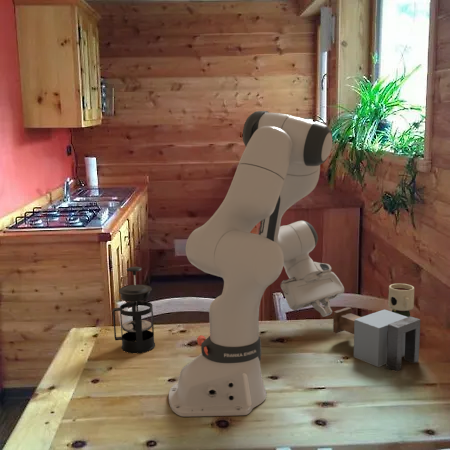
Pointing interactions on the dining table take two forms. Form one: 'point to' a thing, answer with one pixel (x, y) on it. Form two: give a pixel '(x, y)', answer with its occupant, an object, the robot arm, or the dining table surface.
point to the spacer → (395, 342)
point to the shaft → (345, 321)
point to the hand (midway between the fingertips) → (327, 314)
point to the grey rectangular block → (374, 336)
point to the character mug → (401, 298)
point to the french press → (135, 318)
